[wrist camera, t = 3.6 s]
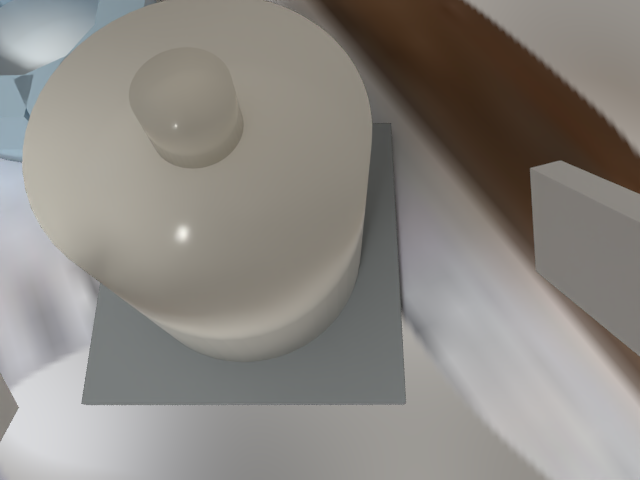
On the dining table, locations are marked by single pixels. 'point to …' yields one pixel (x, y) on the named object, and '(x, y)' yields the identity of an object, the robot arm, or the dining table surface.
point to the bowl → (42, 53)
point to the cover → (208, 171)
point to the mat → (284, 371)
